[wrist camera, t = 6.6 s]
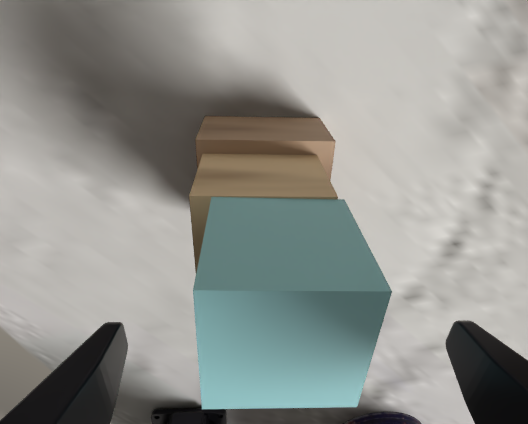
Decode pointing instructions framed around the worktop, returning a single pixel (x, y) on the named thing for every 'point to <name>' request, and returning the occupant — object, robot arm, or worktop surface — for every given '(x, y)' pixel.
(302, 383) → the teal cube
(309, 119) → the tower base
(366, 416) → the storage jar
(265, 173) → the tower top
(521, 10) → the worktop surface
